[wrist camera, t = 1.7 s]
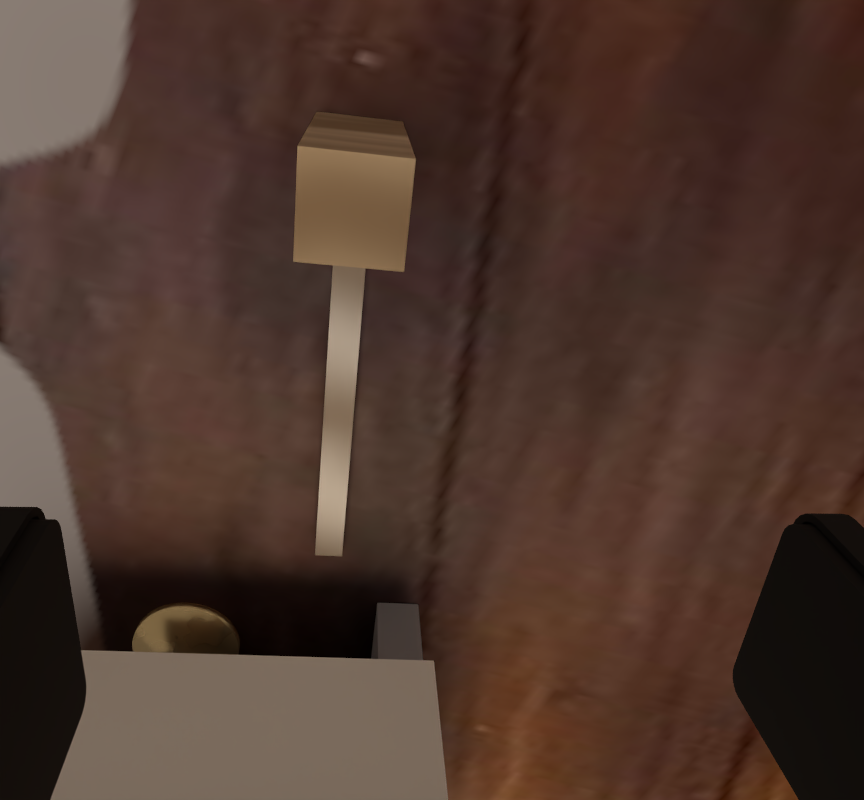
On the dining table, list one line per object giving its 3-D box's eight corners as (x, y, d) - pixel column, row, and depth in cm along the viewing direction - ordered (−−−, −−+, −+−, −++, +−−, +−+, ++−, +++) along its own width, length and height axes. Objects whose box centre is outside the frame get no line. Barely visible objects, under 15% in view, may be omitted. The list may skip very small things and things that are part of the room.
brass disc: (133, 595, 35) (129, 607, 34) (241, 599, 36) (239, 611, 35) (139, 672, 37) (135, 684, 37) (241, 674, 38) (238, 687, 37)
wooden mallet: (316, 111, 26) (297, 146, 19) (402, 121, 26) (416, 159, 19) (296, 540, 34) (277, 677, 27) (362, 543, 34) (360, 679, 27)
